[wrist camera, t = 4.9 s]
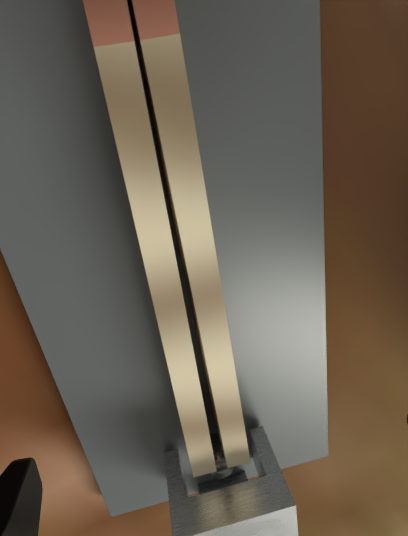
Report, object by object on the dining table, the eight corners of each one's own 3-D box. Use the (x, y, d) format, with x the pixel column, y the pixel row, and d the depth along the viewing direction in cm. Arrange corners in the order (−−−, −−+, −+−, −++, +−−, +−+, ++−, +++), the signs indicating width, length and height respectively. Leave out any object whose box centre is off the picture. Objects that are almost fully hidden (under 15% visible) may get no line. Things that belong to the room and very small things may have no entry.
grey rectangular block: (266, 461, 24) (298, 543, 19) (173, 486, 23) (184, 577, 19) (262, 425, 22) (295, 505, 18) (163, 452, 22) (173, 541, 17)
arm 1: (237, 425, 22) (250, 461, 20) (217, 431, 22) (227, 468, 20) (152, -64, 12) (158, -97, 10) (115, -58, 12) (113, -91, 10)
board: (302, -104, 14) (317, -120, 13) (319, 440, 26) (328, 455, 25) (-109, -53, 12) (-131, -67, 11) (111, 498, 25) (111, 516, 23)
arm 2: (207, 433, 22) (216, 471, 20) (186, 439, 22) (193, 477, 19) (112, -58, 12) (109, -91, 10) (73, -54, 12) (62, -85, 10)
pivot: (246, 481, 24) (255, 511, 23) (200, 494, 24) (206, 526, 22) (237, 426, 22) (247, 455, 21) (186, 440, 22) (192, 470, 20)
